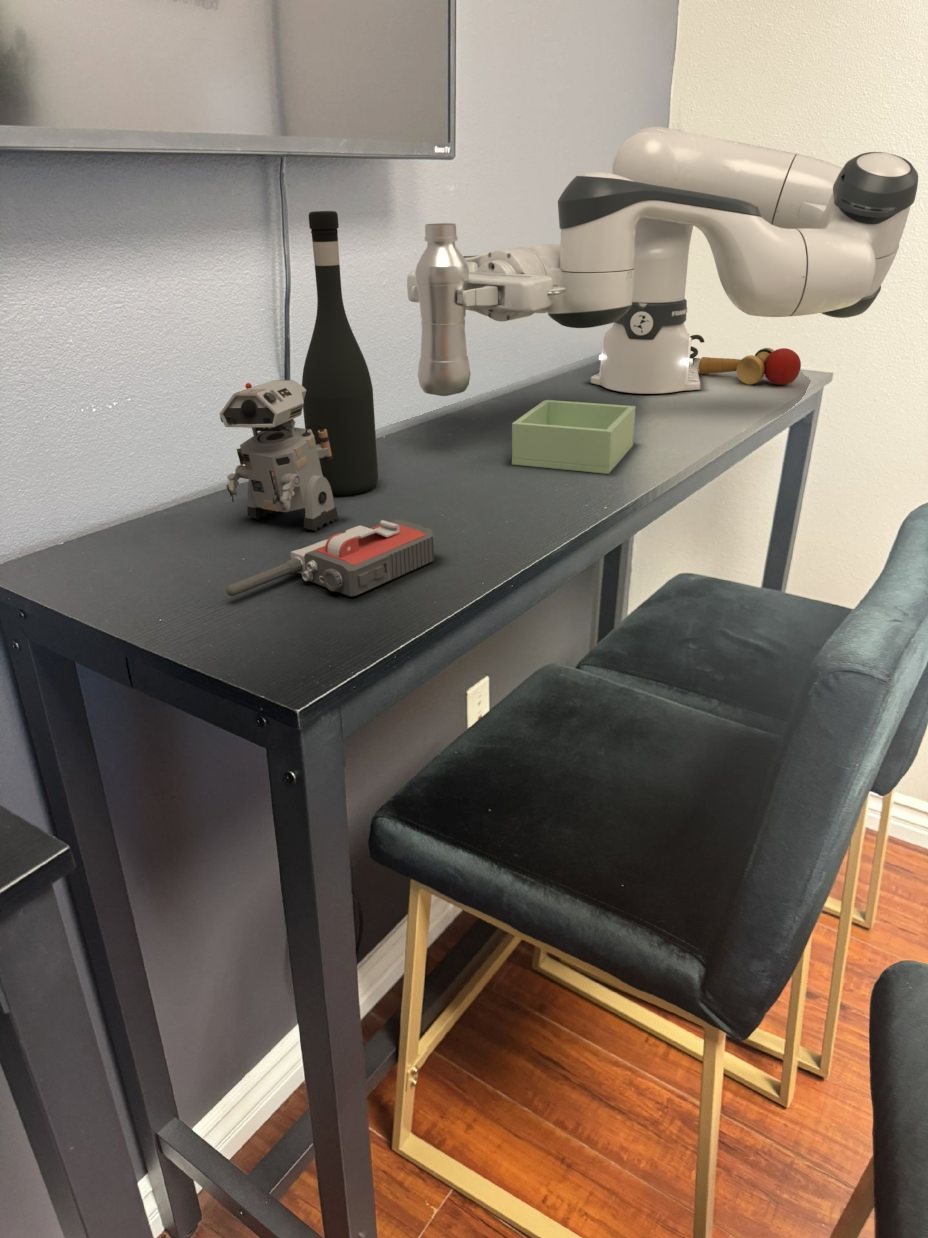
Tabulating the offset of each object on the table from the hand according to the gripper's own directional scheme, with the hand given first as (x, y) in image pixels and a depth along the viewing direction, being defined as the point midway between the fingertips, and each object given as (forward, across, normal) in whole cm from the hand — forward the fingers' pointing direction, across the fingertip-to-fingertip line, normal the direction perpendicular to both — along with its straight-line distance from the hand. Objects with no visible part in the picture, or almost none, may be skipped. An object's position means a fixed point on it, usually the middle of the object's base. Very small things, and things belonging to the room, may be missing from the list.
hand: (437, 296), depth 109 cm
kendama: (-68, -12, -20) cm, 71 cm away
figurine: (+30, -3, -20) cm, 36 cm away
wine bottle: (+16, +1, -20) cm, 26 cm away
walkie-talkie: (+36, -19, -20) cm, 45 cm away
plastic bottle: (-1, 0, -12) cm, 12 cm away
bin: (-11, -13, -20) cm, 27 cm away
